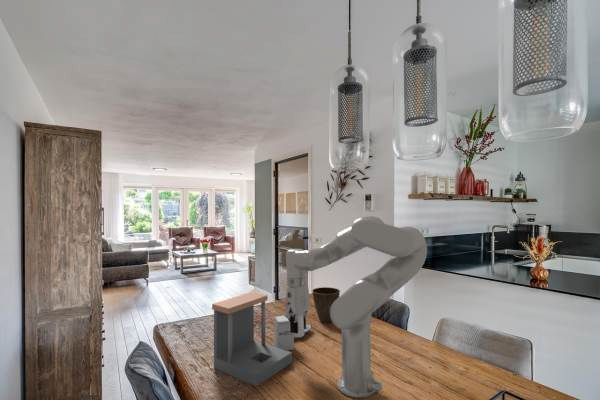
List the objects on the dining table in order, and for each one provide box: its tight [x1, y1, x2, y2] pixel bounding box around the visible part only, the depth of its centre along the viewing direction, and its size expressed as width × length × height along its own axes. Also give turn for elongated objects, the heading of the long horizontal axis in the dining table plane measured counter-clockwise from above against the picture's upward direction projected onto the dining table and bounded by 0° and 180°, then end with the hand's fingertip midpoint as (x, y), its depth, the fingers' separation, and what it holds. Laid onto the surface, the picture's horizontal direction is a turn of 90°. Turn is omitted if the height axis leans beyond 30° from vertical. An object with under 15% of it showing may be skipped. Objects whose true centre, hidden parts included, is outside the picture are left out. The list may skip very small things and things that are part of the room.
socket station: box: [211, 291, 293, 387], centre depth 120 cm, size 22×21×24 cm
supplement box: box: [273, 315, 295, 351], centre depth 136 cm, size 7×7×13 cm
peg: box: [292, 313, 305, 338], centre depth 118 cm, size 4×4×10 cm
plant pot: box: [311, 286, 341, 324], centre depth 168 cm, size 15×15×16 cm
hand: (298, 330), depth 118 cm, fingers closed on peg, 4 cm apart
